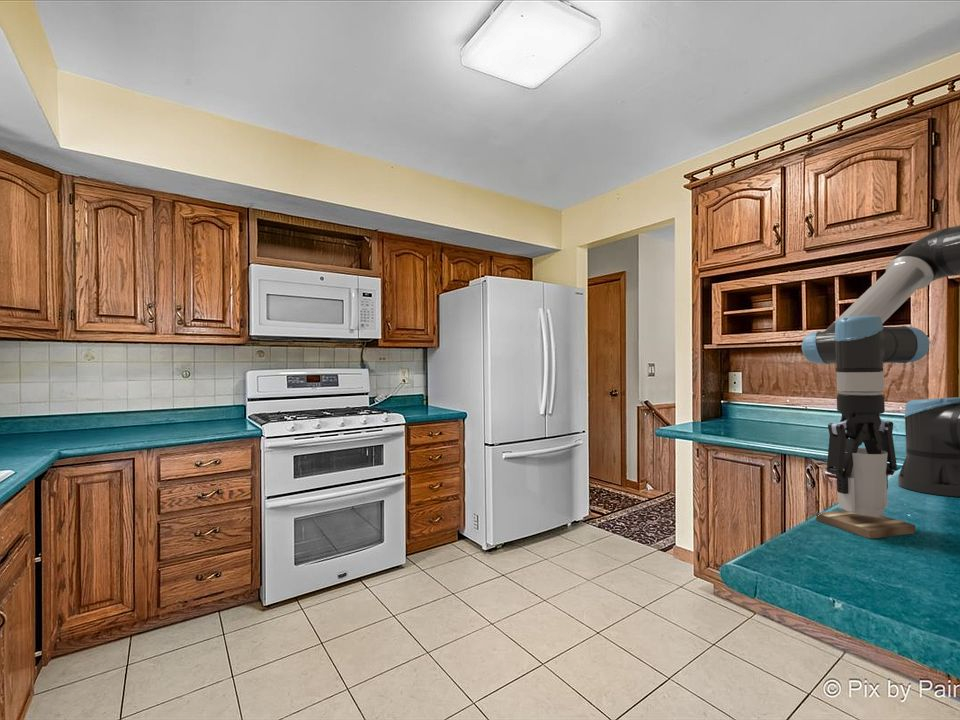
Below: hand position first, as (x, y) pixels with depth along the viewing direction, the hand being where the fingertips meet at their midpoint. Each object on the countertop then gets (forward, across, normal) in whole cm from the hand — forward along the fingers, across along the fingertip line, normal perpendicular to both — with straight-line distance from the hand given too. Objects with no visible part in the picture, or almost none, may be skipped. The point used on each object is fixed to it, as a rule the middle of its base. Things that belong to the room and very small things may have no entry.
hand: (863, 507), depth 96 cm
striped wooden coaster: (+4, 0, 0) cm, 4 cm away
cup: (+1, 0, 0) cm, 1 cm away
